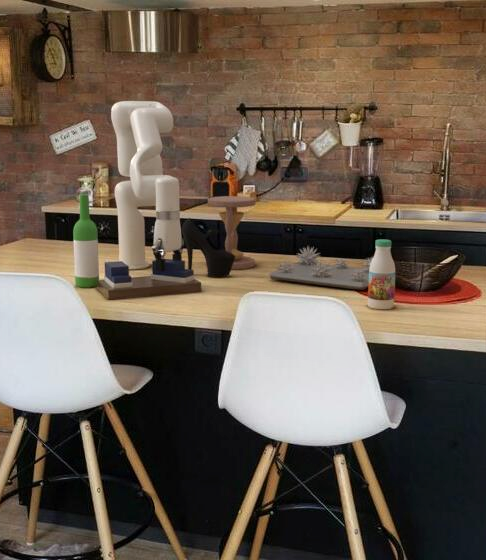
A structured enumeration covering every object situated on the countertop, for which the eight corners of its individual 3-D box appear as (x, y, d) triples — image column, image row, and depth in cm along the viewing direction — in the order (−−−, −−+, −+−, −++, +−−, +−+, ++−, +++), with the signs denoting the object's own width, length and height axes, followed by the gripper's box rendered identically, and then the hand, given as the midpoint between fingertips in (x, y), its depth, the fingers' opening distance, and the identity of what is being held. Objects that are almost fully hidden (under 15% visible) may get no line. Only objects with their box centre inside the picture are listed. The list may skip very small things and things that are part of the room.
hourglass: (245, 271, 284) (246, 202, 278) (200, 268, 289) (200, 200, 284) (260, 262, 300) (261, 197, 295) (218, 259, 305) (217, 195, 300)
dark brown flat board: (97, 288, 255) (96, 279, 254) (185, 281, 266) (185, 273, 265) (108, 299, 240) (108, 290, 240) (201, 291, 252) (201, 282, 251)
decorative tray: (267, 281, 268) (267, 252, 266) (299, 268, 290) (299, 241, 288) (364, 292, 251) (365, 262, 249) (390, 278, 274) (391, 250, 271)
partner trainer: (104, 280, 253) (103, 262, 252) (122, 278, 256) (121, 260, 254) (113, 288, 242) (112, 269, 240) (132, 287, 244) (132, 268, 243)
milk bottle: (364, 303, 237) (367, 238, 233) (390, 303, 238) (393, 238, 234) (370, 310, 230) (373, 242, 226) (396, 309, 230) (400, 242, 226)
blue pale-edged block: (150, 279, 256) (150, 260, 255) (161, 275, 261) (160, 257, 260) (184, 283, 250) (184, 264, 249) (194, 279, 255) (194, 261, 254)
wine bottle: (78, 282, 263) (74, 193, 257) (101, 283, 263) (98, 193, 257) (72, 288, 256) (68, 195, 249) (96, 288, 255) (93, 196, 249)
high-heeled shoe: (232, 278, 271) (233, 221, 267) (179, 276, 275) (179, 219, 270) (237, 274, 279) (238, 218, 274) (186, 271, 282) (185, 216, 278)
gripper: (172, 212, 261) (173, 263, 264) (142, 218, 246) (144, 272, 249) (192, 213, 258) (192, 265, 261) (162, 219, 243) (164, 274, 246)
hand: (169, 268), depth 255 cm, fingers open, 9 cm apart
